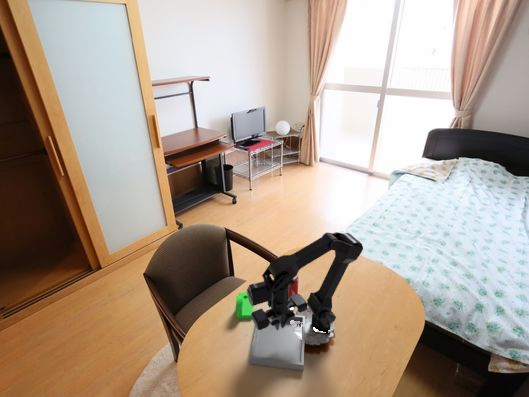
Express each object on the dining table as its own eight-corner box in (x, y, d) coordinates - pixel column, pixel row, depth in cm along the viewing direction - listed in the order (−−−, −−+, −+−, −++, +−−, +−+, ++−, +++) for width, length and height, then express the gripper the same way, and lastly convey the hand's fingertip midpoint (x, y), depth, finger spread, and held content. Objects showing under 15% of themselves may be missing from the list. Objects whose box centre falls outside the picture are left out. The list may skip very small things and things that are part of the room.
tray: (304, 321, 112) (305, 316, 110) (303, 371, 94) (303, 365, 93) (259, 316, 114) (259, 311, 113) (249, 363, 97) (249, 357, 95)
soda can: (278, 302, 120) (278, 278, 114) (283, 290, 126) (284, 267, 120) (294, 307, 118) (295, 282, 112) (299, 295, 124) (300, 271, 118)
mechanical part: (252, 318, 113) (251, 303, 110) (237, 319, 113) (235, 304, 110) (253, 295, 124) (252, 281, 120) (239, 296, 124) (238, 281, 120)
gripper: (291, 270, 104) (290, 303, 111) (243, 288, 97) (245, 321, 104) (309, 291, 95) (307, 324, 102) (257, 311, 88) (259, 346, 95)
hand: (279, 328), depth 101 cm, fingers closed
